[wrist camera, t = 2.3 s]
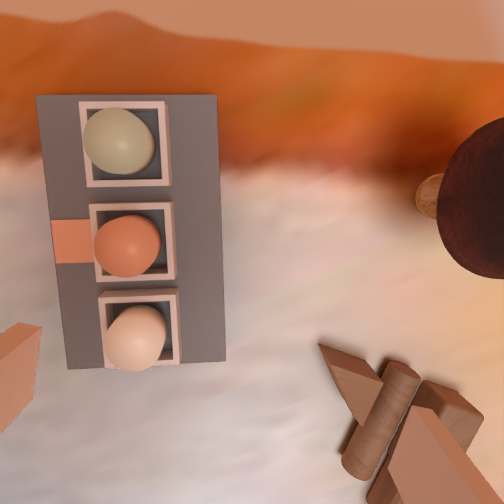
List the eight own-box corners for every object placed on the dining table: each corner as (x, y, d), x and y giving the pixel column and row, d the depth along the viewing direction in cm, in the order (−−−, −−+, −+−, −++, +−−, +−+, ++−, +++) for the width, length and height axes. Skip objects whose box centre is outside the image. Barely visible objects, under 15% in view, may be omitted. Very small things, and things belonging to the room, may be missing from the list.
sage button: (100, 175, 29) (86, 174, 26) (94, 115, 28) (79, 107, 25) (157, 174, 29) (150, 173, 26) (154, 115, 28) (146, 107, 25)
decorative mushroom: (369, 251, 36) (468, 297, 22) (378, 134, 34) (494, 98, 20) (476, 251, 37) (641, 296, 23) (490, 137, 35) (682, 105, 21)
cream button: (116, 355, 32) (105, 373, 29) (112, 306, 31) (100, 319, 28) (169, 352, 32) (163, 370, 29) (165, 303, 31) (160, 316, 28)
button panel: (80, 354, 36) (58, 381, 31) (52, 102, 32) (21, 88, 27) (225, 346, 37) (225, 372, 32) (217, 102, 33) (216, 88, 28)
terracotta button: (108, 269, 30) (96, 279, 27) (103, 215, 29) (90, 218, 26) (163, 267, 31) (157, 276, 28) (160, 213, 30) (153, 217, 27)
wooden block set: (499, 415, 35) (414, 568, 37) (461, 383, 40) (389, 518, 43) (338, 358, 32) (259, 526, 35) (321, 332, 38) (254, 478, 41)
